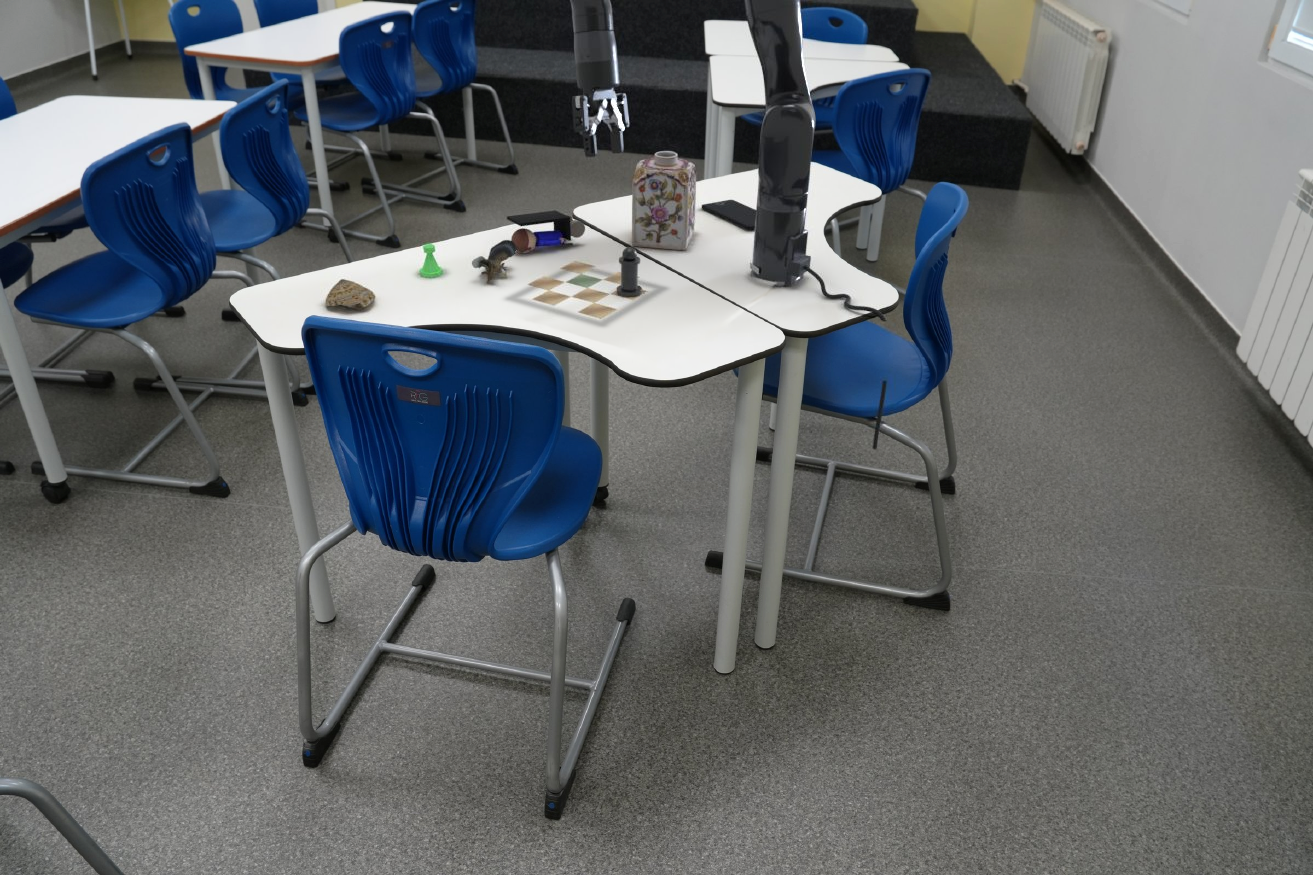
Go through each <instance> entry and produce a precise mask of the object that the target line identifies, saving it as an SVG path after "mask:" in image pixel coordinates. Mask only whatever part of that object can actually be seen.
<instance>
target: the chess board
mask: <svg viewBox="0 0 1313 875" xmlns="http://www.w3.org/2000/svg"><path fill="white" fill-rule="evenodd" d="M596 267H597V266H596V265H593V264H589V263H586V262H581V261H577V260H575V261H572V262H570V263H568V264H566V265H564V266H562V267H560V270H564V271H567V272H568V271H569V272H572V273H576V274H578V275H577V276H575V277H573V278H571V279H569V280H567V281H566V283H568V284H571V285H575V286H577V287H578V286H579V287H582V288H585V289H583V290H581V291H579V292H577V293H576V294H574V295H572V296H570V295H567V294H563V293H560V292H556V291H553V289H554V288H557V287H558V286H561V285H562V284H564V283H565V281H563V280H559V279H555V278H551V277H548V276H544V275H543V276H542V277H539V278H538V279H536V280H533V281H531V282H530V283H528V284H527V285H528V286H532V287H536V288H539V289H542V290H546V292H543V293H541V294H539V295H537V296H535V297H534V298H532V300H534V301H537V302H540V303H544V304H547V305H551V306H557V305H558V304H560V303H562V302H564V301H566V300H568V299H569V298H571V297H572V298H575V299H578V300H583V301H586V302H590V303H591V304H589V305H588V306H586V307H584V308H582V309H580V310H579V311H578V313H580V314H582V315H583V314H584V315H586V316H590V317H594V318H597V319H601V320H602V319H603V318H605V317H607V316H609V315H611V314H612V313H614V312H616V311H617V310H618V308H614V307H611V306H607V305H604V304H600V303H597V302H599V301H600V300H602V299H604V298H606V297H608V296H609V295H613V296H616V297H620V298H624V299H628V300H631V301H634V300H636V299H638V298H640V297H641V296H644V295H645V294H646V293H648V292H649V290H646V289H645V290H644V289H642V294H641V295H639V296H636V297H623V296H620V295H618V294H617V289H616V290H615V291H613V292H610V293H608V292H604V291H601V290H598V289H593V288H590V287H592V286H594V285H596V284H597V283H599V282H602V281H606V282H610V283H615V284H619V285H621V271H617V272H615V273H613V274H611V275H609V276H607V277H606V278H603V279H602V278H598V277H594V276H590V275H587V274H585V273H586V272H588V271H590V270H593V269H594V268H596ZM640 278H641V277H640V276H638V279H640Z"/></svg>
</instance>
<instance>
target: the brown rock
mask: <svg viewBox="0 0 1313 875" xmlns="http://www.w3.org/2000/svg"><path fill="white" fill-rule="evenodd" d="M376 298H377V296H376V294H375V292H373V291H372V290H371V289H369V288H368V287H365V286H363V285H361V284H359V283H357V282H355V281H354V280H349V279H345V278H342V279H340V280H338V281H337V282H336V283H335V284H334V285H333V287H332V288H331V289H330V290H329V292H328V293H327V295H326V297H325V306H326V307H335V306H343V307H347V308H349V309H356V310H357V309H363V308H366V307H368V306H369V305H370V304H371V303H372V302H373V301H375V300H376Z"/></svg>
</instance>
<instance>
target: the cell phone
mask: <svg viewBox="0 0 1313 875" xmlns="http://www.w3.org/2000/svg"><path fill="white" fill-rule="evenodd" d="M701 209H702V210H704V211H706V212H708V213H711V214H713V215H714V216H717V217H719V218H722V219H723V220H725V221H727V222H730V223H731V224H734V225H736V226H738V227H740V228H742V229H744V230H746V231H755V220H756V208H752V207H750V206H748V205H745V204H743V203H741V202H739V201H737V200H734V199H726V200H721V201H715V202H710V203H703V204H701Z"/></svg>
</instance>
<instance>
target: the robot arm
mask: <svg viewBox="0 0 1313 875" xmlns="http://www.w3.org/2000/svg"><path fill="white" fill-rule="evenodd" d="M569 3H570V6H571V17H572V27H573V29H572V30H573V52H574V62H575V73H576V83H577V88H578V89H579V90H580V91H583V94H582V95H574V96H572V97H571V106H572V122H573V124H572V125H573V131H574V132H575V133H579V134H580V135H581V136H582V139H583V140H582V142H583V152H584V156H585V157H586V158H595V157H597V156H598V146H597V137H596V136H597V135H596V130H597V128H598V125H599V124H601V122H603V123H605V124H606V125H607V127H608V129H609V130H610V132H609V137H610V146H611V147H610V149H611V153H612V154H622V153H624V150H625V149H624V147H625V146H624V135H623V132H624V131H625V128H629V127H630V116H629V108H628V107H629V106H628V99H627V94H626V92H625V93H623V92H622V93H621V92H619V93H616V91H615V88H618V87H619V86H620V73H619V62H618V61H619V60H618V47H617V41H616V37H615V31H614V29H615V28H614V18H613V17H614V16H613V8H612V3H611V0H569ZM743 3H744V9H745V16H746V21H747V25H748V29H749V32H750V37H751V39H752V43H753V46H754V50H755V51H756V55H757V57H758V60H759V63H760V67H761V71H762V78H763V87H764V88H763V89H764V101H765V102H764V104H765V113H764V117H763V119H762V121H761V127H760V135H759V136H760V137H759V149H758V150H759V152H758V154H759V155H758V165H757V166H758V167H757V168H758V169H757V175H758V178H757V179H758V181H757V197H756V208H755V210H756V220H755V230H754V233H753V245H752V246H753V248H752V260H751V262H750V263H749V269H750V277H751V278H755V279H760V280H763V281H766V282H772V283H774V284H773V287H788V288H791V287H792V286H794V285H795V284H797V283H798V282H800V281H801V280H802V279H803V278H804V276H805V274H806V273H807V272H808V274H810V275H812V276H813V277H814V278H815V279H816V281H818V283H819V285H820V290H821V293H822V295H823V296H824V297H825V298H827V299H830V300H836V299H837V300H838V299H845V300H844V301H843V305H844V307H845V308H846V309H848V310H851V311H862V312H869V313H873V314H874V315H876V316H877V317H878V318H879V320H880V321H881V322H887V319H886V317H885V316H884V314H883V313H882V312H881V311H880V310H879V309H876V308H875V307H871V306H864V305H853V304H850V302H851V300H852V297H851V296H850V295H849V294H847V293H838V294H837V293H836V294H831V293H829V292H828V291H827V289H826V284H825V281H824V280H823V278H822V277H821V276H820V275H819V274H818V273H817V272H816V271H815V270H813V269H812V268H811V261H812V255H807V247H808V245H807V244H808V236H809V230H808V229H805V228H806V227H805V226H806V216H807V206H808V196H809V189H810V179H811V176H810V175H811V165H812V156H813V153H812V152H813V145H814V136H815V130H816V123H817V120H816V119H817V118H816V113H815V109H814V105H813V101H812V97H811V94H810V89H809V84H808V80H807V76H806V70H805V64H804V50H803V49H804V46H803V45H804V43H803V42H804V40H803V36H804V35H803V21H802V9H801V8H802V7H801V0H743ZM580 118H581V119H580ZM580 120H581V122H582V123H581V122H580ZM887 384H888V381H887V380H882V382H881V392H880V399H879V404H878V408H877V416H876V422H875V428H874V435H873V441H872V449H873V450H877V449H878V442H879V436H880V435H879V434H880V428H881V423H882V416H883V410H884V405H885V399H886V391H887Z"/></svg>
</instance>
